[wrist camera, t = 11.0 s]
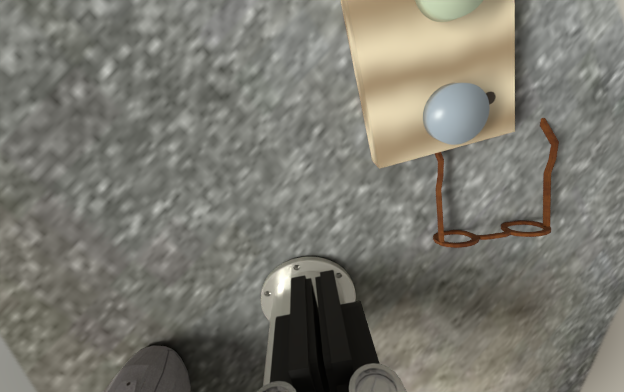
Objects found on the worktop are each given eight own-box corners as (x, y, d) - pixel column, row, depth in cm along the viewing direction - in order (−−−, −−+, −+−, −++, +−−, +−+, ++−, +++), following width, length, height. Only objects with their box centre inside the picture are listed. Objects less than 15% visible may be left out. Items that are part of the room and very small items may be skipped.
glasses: (426, 234, 37) (444, 256, 33) (427, 133, 33) (449, 143, 28) (527, 219, 37) (559, 239, 33) (544, 116, 32) (585, 122, 28)
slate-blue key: (480, 132, 28) (490, 135, 26) (426, 147, 28) (433, 151, 26) (477, 75, 26) (488, 75, 24) (419, 92, 26) (426, 92, 24)
